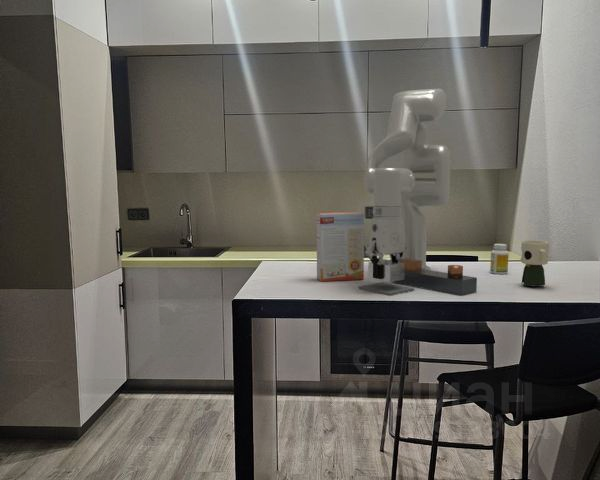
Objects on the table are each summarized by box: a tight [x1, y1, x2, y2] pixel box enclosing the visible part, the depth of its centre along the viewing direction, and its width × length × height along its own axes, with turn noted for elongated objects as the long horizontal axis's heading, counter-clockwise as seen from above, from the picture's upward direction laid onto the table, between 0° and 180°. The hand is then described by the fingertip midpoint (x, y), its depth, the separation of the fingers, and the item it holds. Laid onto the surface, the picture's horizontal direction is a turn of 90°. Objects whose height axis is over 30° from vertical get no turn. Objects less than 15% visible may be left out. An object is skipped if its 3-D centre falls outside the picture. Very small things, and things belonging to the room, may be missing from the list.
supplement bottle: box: [489, 243, 509, 275], centre depth 165 cm, size 5×5×10 cm
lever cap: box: [367, 258, 405, 283], centre depth 140 cm, size 8×6×5 cm
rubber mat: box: [357, 281, 415, 296], centre depth 140 cm, size 12×10×1 cm
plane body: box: [392, 258, 478, 296], centre depth 143 cm, size 24×7×7 cm, turn 39°
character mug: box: [520, 239, 550, 288], centre depth 143 cm, size 11×7×13 cm, turn 2°
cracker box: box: [315, 211, 365, 282], centre depth 155 cm, size 14×6×21 cm, turn 101°
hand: (386, 276), depth 140 cm, fingers closed on lever cap, 6 cm apart
